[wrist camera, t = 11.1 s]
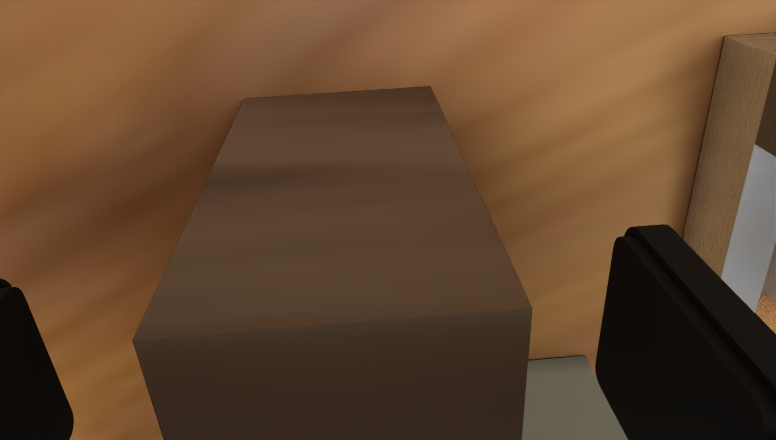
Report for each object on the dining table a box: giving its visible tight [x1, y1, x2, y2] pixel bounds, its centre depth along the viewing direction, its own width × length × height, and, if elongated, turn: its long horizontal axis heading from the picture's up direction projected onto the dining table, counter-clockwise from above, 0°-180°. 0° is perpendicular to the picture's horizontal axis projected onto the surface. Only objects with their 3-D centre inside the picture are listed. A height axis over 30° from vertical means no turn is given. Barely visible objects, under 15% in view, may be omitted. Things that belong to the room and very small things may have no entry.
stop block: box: [132, 86, 532, 440], centre depth 12 cm, size 4×4×9 cm
